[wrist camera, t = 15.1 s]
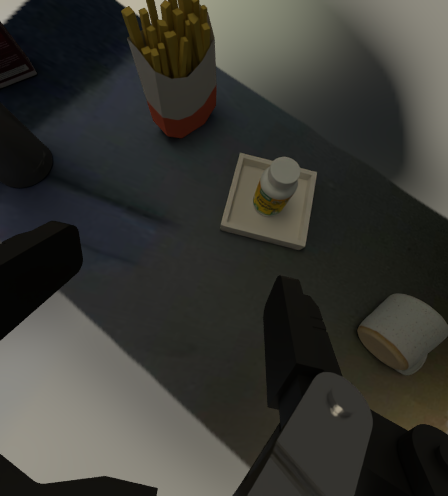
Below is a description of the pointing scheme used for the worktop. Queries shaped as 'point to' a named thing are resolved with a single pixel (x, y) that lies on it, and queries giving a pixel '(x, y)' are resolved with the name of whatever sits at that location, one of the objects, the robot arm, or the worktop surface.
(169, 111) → the french fries container
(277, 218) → the tray
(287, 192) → the supplement bottle
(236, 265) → the worktop surface
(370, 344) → the ceramic mug
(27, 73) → the supplement box
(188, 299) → the worktop surface
